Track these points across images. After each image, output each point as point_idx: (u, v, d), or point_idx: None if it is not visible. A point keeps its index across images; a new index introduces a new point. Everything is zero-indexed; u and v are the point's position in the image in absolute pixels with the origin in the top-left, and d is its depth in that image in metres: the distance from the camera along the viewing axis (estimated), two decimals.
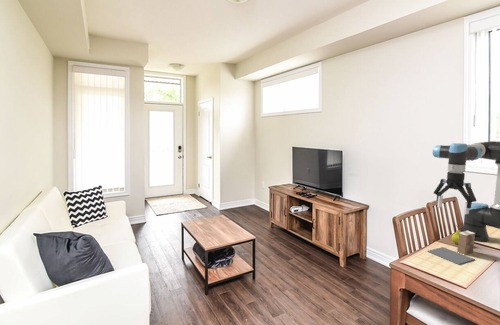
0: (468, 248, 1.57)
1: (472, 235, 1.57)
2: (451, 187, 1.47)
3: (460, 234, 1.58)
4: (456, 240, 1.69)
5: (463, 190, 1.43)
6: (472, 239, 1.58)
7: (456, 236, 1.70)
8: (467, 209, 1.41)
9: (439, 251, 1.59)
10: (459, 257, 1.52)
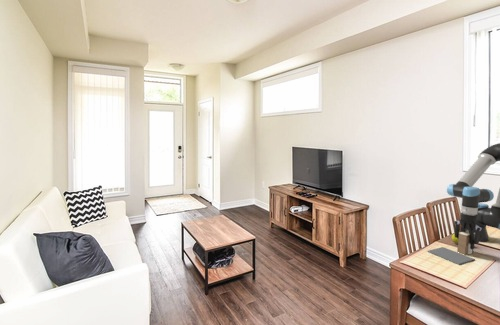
0: None
1: None
2: (464, 227, 1.58)
3: (460, 234, 1.58)
4: (456, 240, 1.69)
5: (472, 232, 1.56)
6: None
7: None
8: (470, 249, 1.57)
9: (439, 251, 1.59)
10: (459, 257, 1.52)
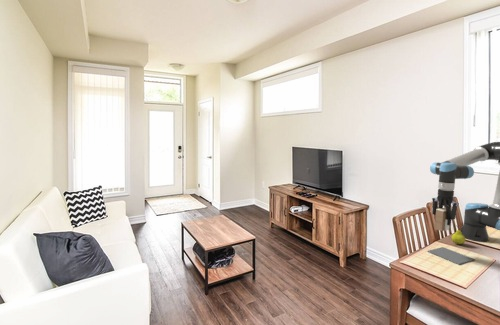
0: None
1: None
2: (441, 203, 1.57)
3: (437, 210, 1.57)
4: (456, 240, 1.69)
5: (449, 208, 1.55)
6: None
7: (456, 236, 1.70)
8: (447, 226, 1.56)
9: (439, 251, 1.59)
10: (459, 257, 1.52)
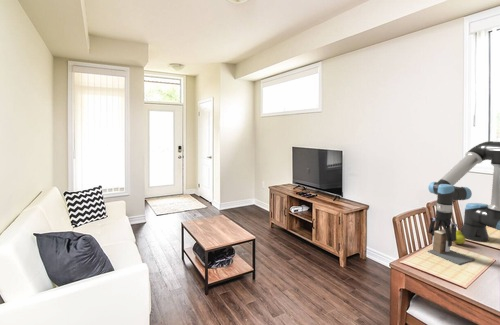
0: (443, 247, 1.58)
1: None
2: (439, 224, 1.59)
3: (435, 233, 1.58)
4: (456, 240, 1.69)
5: (448, 229, 1.56)
6: None
7: (456, 236, 1.70)
8: (448, 247, 1.56)
9: None
10: (459, 257, 1.52)
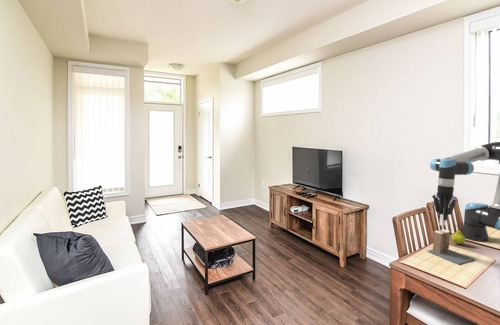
0: (443, 247, 1.58)
1: (447, 234, 1.58)
2: None
3: (435, 233, 1.58)
4: (456, 240, 1.69)
5: (447, 204, 1.55)
6: (447, 238, 1.58)
7: (456, 236, 1.70)
8: (443, 221, 1.58)
9: None
10: (459, 257, 1.52)
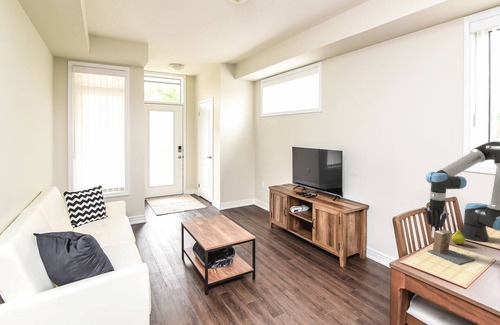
0: (443, 247, 1.58)
1: (448, 234, 1.58)
2: (433, 212, 1.62)
3: (436, 233, 1.58)
4: (456, 240, 1.69)
5: (439, 217, 1.60)
6: (448, 238, 1.58)
7: (456, 236, 1.70)
8: None
9: None
10: (459, 257, 1.52)
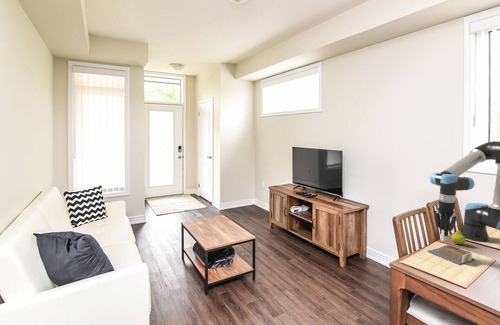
0: None
1: None
2: None
3: (461, 256, 1.46)
4: (456, 240, 1.69)
5: (448, 219, 1.55)
6: None
7: (456, 236, 1.70)
8: (444, 236, 1.57)
9: (439, 251, 1.59)
10: None
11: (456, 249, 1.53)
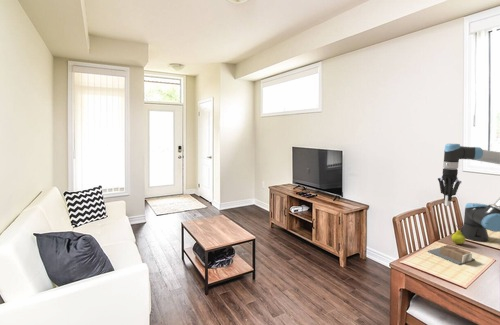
0: None
1: None
2: None
3: (461, 256, 1.46)
4: (456, 240, 1.69)
5: (452, 185, 1.68)
6: None
7: (456, 236, 1.70)
8: (448, 201, 1.70)
9: (439, 251, 1.59)
10: None
11: (456, 249, 1.53)
